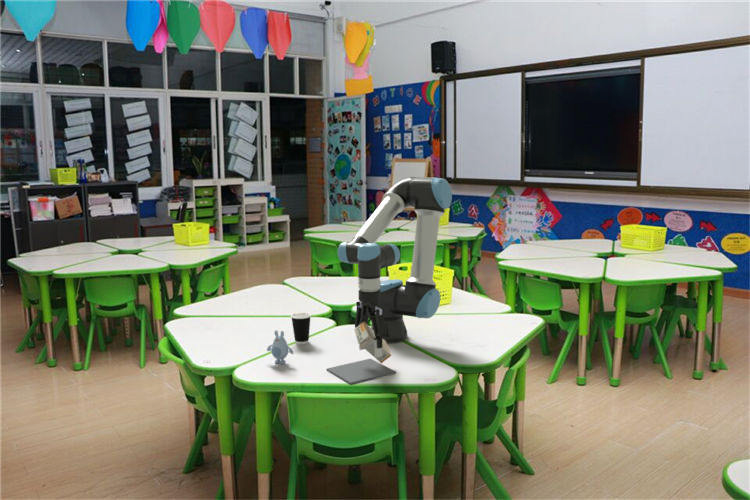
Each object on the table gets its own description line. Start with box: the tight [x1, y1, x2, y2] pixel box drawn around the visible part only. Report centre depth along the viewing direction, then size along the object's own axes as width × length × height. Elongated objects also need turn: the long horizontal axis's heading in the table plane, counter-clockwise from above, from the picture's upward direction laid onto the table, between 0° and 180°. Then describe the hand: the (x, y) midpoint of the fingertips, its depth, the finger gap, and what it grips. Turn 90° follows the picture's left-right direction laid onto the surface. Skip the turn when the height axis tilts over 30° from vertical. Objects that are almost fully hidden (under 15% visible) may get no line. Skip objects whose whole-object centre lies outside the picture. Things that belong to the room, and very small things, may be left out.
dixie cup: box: [290, 312, 312, 345], centre depth 254 cm, size 8×8×11 cm
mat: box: [326, 358, 397, 385], centre depth 222 cm, size 18×16×1 cm
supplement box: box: [353, 322, 392, 364], centre depth 223 cm, size 8×5×13 cm
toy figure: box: [266, 329, 294, 365], centre depth 231 cm, size 11×6×12 cm, turn 70°
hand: (370, 352), depth 223 cm, fingers closed on supplement box, 9 cm apart
